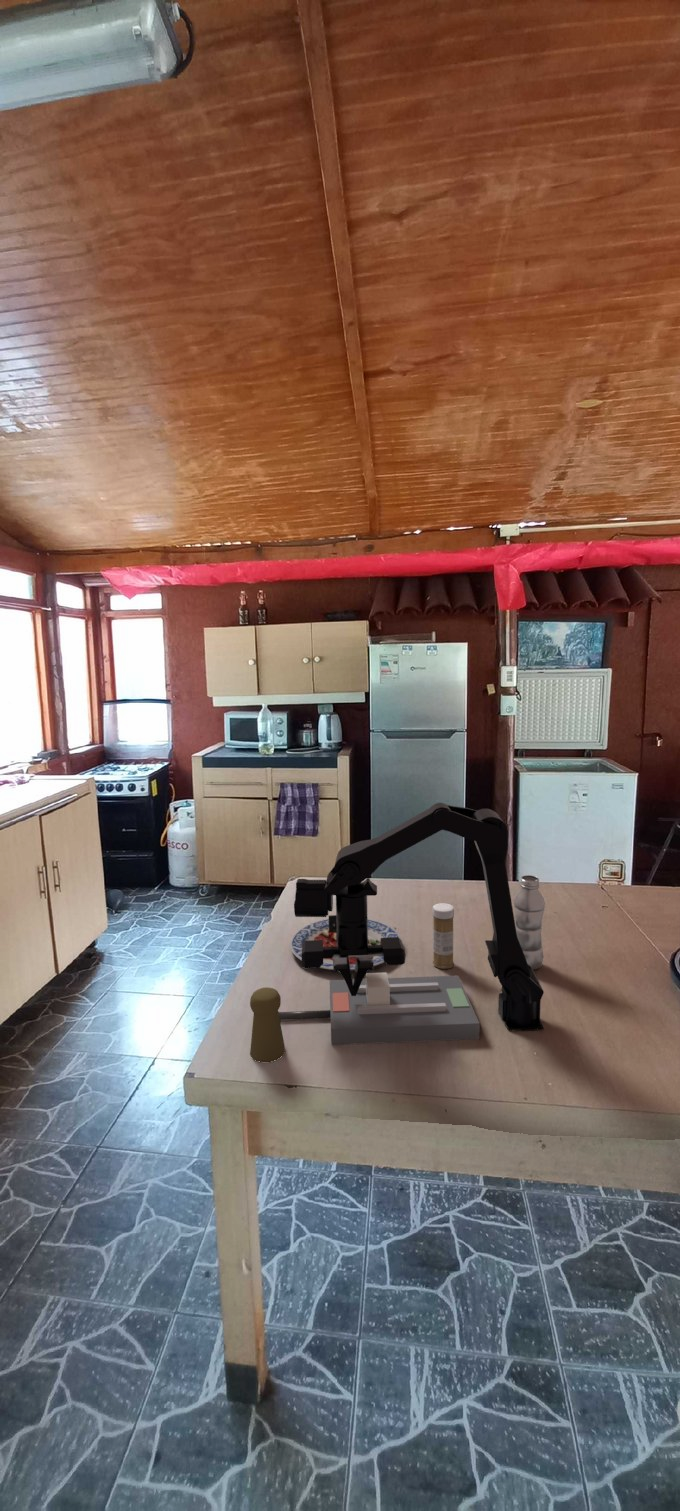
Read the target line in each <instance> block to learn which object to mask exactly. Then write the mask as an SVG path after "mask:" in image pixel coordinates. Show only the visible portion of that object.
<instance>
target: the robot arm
mask: <svg viewBox="0 0 680 1511" xmlns="http://www.w3.org/2000/svg"><path fill="white" fill-rule="evenodd" d="M441 831H445V832H449V833H451V834H454V835H456V836H459V837H462V838H463V839H467V840H469V841H473V842H474V844H475V847H476V850H477V853H478V854H479V856H480V859H481V864H482V870H483V875H484V882H485V888H486V894H487V900H488V905H489V911H490V919H491V923H492V930H493V931H492V932H493V933H492V934H493V935H492V940H489V939H488V940H486V939H485V941H484V942H485V946H486V948H487V952H488V955H487V961H488V964H489V967H490V969H491V972H492V974H493V975H492V976H493V978H497V979H498V981H499V983H500V985H501V992H499V993H498V1009H497V1012H498V1015H499V1017H500V1019H501V1020H502V1022H503V1023H504V1025H505V1027H506V1029H507V1030H508V1031H529V1030H531V1031H533V1030H544V1024H543V1022H542V1021H541V1003H542V1002H541V1001H542V998H543V996H544V993H545V992H544V989H543V987H542V986H541V984H540V981H539V979H538V977H537V975H536V974H535V972H534V971H535V970H533V969H532V967H531V966H530V965H529V964H528V963H527V961H526V958H525V955H524V953H523V950H522V948H521V945H520V943H519V940H518V938H517V933H516V919H515V913H514V909H513V902H512V895H511V890H510V884H509V878H508V877H509V876H508V873H507V871H508V870H507V866H506V863H507V856H508V850H509V829H508V826H507V825H506V823H505V821H503V819H502V818H501V817H500V815H499V814H498V813H497V812H495V811H494V810H493V809H490V808H480V809H478V810H476V809H472V808H468V807H462V806H456V805H455V806H454V805H450V804H447V803H444V802H436V803H434V804H432V805H431V806H430V807H429V808H428V809H426V810H424V811H422V812H420V813H418V814H417V815H415V816H413V817H411V818H410V819H408V820H406V821H404V822H402V823H401V824H399V825H397V826H394V828H391V829H390V830H387V831H386V832H384V833H382V834H381V835H378V836H376V837H374V838H371V839H365V840H360V841H356V842H354V843H352V844H348V845H346V846H345V845H344V846H343V847H342V848H341V849H339V851H338V853H337V854H336V858H335V862H334V866H333V867H332V869H330V871H329V872H328V873H327V877H326V879H305V878H297V880H296V883H295V895H294V898H295V900H294V903H293V910H294V911H293V912H294V916H295V917H296V918H327V916H328V919H329V933H336V941H337V947H323V940H309V941H305V942H304V943H303V944H302V961H301V968H303V969H321V968H320V967H321V966H322V965H323V958H333V968H334V970H333V971H334V972H339V974H340V975H341V977H342V978H343V980H345V982H346V984H347V986H348V989H349V991H350V993H351V996H356V994H357V992H358V989H359V987H360V985H361V982H362V980H363V979H365V978H366V973H369V971H372V970H374V967H375V966H373V960H372V959H373V956H383V959H384V964H386V965H387V966H403V965H405V964H406V954H405V948H404V944H403V942H402V939H401V937H400V936H399V937H400V938H399V937H390V938H381V939H380V945H371V944H368V920H369V918H368V897H369V896H375V897H376V896H377V894H378V886H377V884H375V883H374V882H372V881H371V879H370V876H371V875H373V873H375V872H376V871H377V869H378V868H380V866H381V865H383V863H385V862H386V861H387V860H390V859H391V858H393V857H394V856H396V855H398V854H400V853H403V851H405V850H407V849H409V848H411V847H413V846H414V845H416V844H418V843H420V842H422V841H424V840H426V839H427V838H429V837H432V836H433V835H435V834H437V833H440V832H441ZM334 896H335V910H336V911H335V913H336V914H333V915H332V914H331V915H329V912H333V907H334ZM349 957H356V962H355V970H354V974H353V975H354V976H352V970H351V969H350V962H349ZM352 979H354V983H353V981H352Z"/></svg>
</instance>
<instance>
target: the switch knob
mask: <svg viewBox="0 0 680 1511" xmlns="http://www.w3.org/2000/svg"><path fill="white" fill-rule="evenodd" d="M388 978H389V977H388V972H367V973H366V975H365V979H366V996H367V1003H368V1006H375V1005H390V986H389V981H388Z"/></svg>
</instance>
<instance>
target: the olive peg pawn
mask: <svg viewBox="0 0 680 1511" xmlns="http://www.w3.org/2000/svg"><path fill="white" fill-rule="evenodd" d="M281 1004H282V1000H281V995H280V993H279V991H278V990H277V989H275V988H273V987H266V986H265V987H261V988H258V989H256V990H255V991H253V993H252V995H251V996H250V999H249V1007H250V1010H251V1011H252V1013H253V1016H252V1019H253V1020H252V1028H251V1040H250V1051H249V1055H250V1058H251V1057H252V1058H253V1059H252V1058H251V1059H252V1060H254V1061H255V1060H256V1061H255V1062H257V1061H260V1062H259V1063H262V1062H269V1063H272V1062H271V1061H273V1062H275V1061H274V1060H276V1061H278V1060H279V1059H278V1058H280V1057H281V1056H282V1057H283V1056H284V1055H283V1054H285V1053H286V1046H285V1040H284V1035H283V1031H282V1030H283V1029H282V1025H281V1020H280V1018H279V1013H278V1012H279V1010H280V1008H281ZM284 1052H285V1053H284ZM282 1057H281V1058H282ZM281 1058H280V1059H281ZM277 1059H278V1060H277Z"/></svg>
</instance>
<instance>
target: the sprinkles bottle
mask: <svg viewBox="0 0 680 1511" xmlns="http://www.w3.org/2000/svg"><path fill="white" fill-rule="evenodd" d="M432 917H433V927H432V936H433V937H432V948H433V949H432V950H433V958H432V959H433V960H432V964H433V965H434V967H436V968H437V969H441V970H447V969H448V970H449V969H451V968H453V966H454V965H455V964H454V917H455V908H454V906H453V905H451V904H449V903H444V902H440V903H436V904H434V905H433V906H432Z"/></svg>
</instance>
